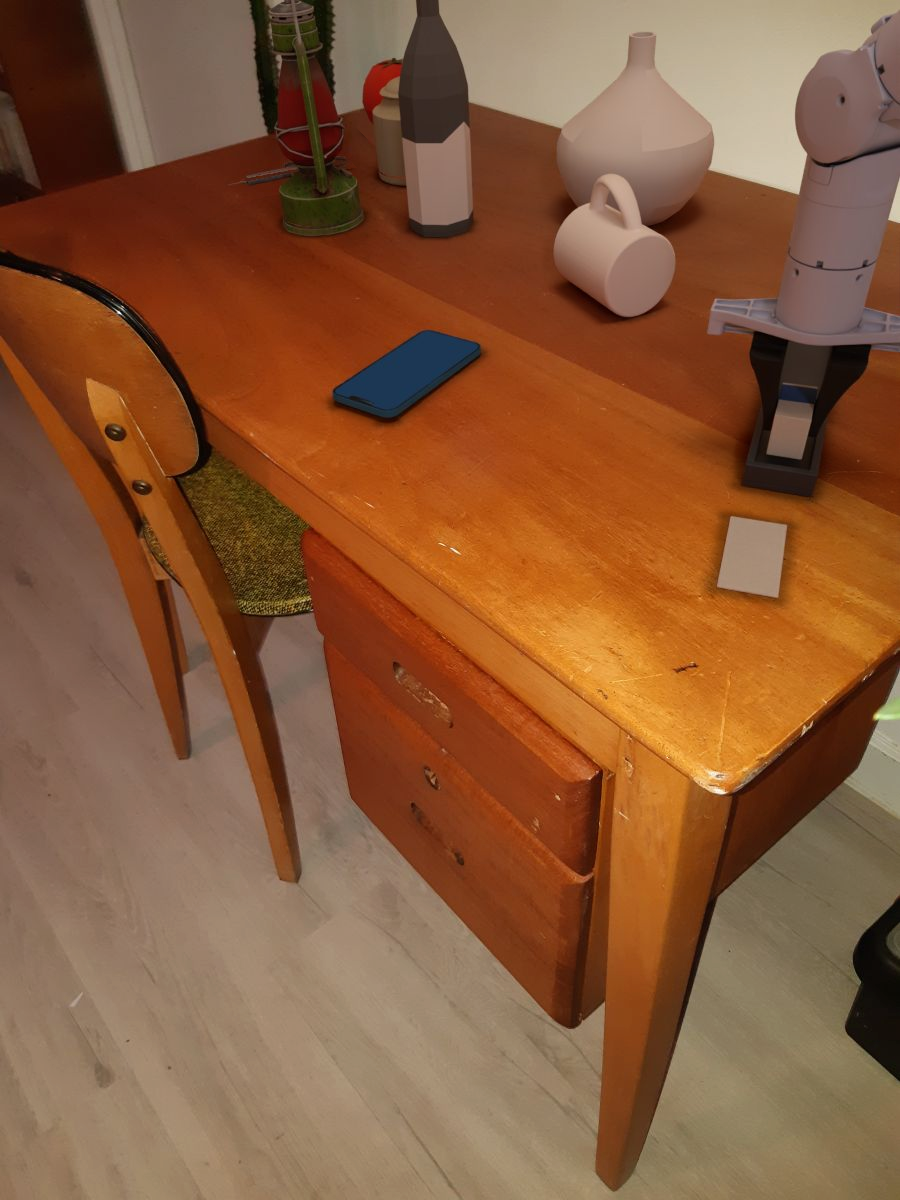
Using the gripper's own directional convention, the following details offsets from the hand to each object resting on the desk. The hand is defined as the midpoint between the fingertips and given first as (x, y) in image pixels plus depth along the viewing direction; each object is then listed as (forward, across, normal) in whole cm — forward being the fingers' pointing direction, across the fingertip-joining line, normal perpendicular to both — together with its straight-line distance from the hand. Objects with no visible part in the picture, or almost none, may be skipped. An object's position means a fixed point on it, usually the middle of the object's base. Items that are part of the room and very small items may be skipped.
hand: (790, 427), depth 68 cm
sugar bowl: (+3, +58, -58) cm, 82 cm away
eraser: (+1, 0, 0) cm, 1 cm away
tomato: (+3, +68, -76) cm, 102 cm away
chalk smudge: (+3, +1, +13) cm, 13 cm away
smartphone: (+3, +34, -4) cm, 35 cm away
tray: (+3, 0, -13) cm, 13 cm away
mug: (+3, +20, -25) cm, 32 cm away
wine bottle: (+3, +46, -40) cm, 60 cm away
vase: (+3, +24, -48) cm, 54 cm away
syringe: (+3, +74, -51) cm, 90 cm away
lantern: (+3, +62, -38) cm, 72 cm away
